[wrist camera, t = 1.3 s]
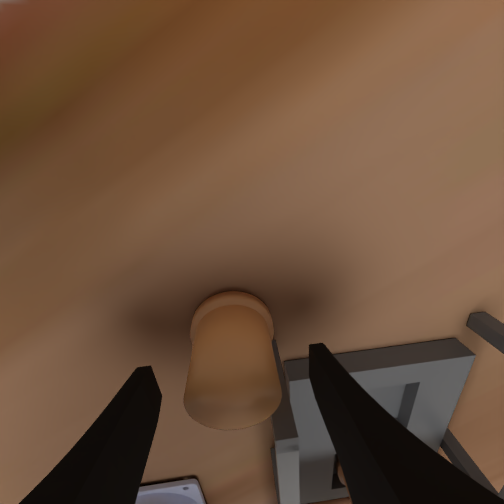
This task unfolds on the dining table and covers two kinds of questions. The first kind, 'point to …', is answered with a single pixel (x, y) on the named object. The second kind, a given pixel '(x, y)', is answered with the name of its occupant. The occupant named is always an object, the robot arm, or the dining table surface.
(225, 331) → the brown round cylinder
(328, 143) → the dining table surface
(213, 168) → the dining table surface
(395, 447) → the robot arm
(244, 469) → the dining table surface
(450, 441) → the grey base stand
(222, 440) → the dining table surface
